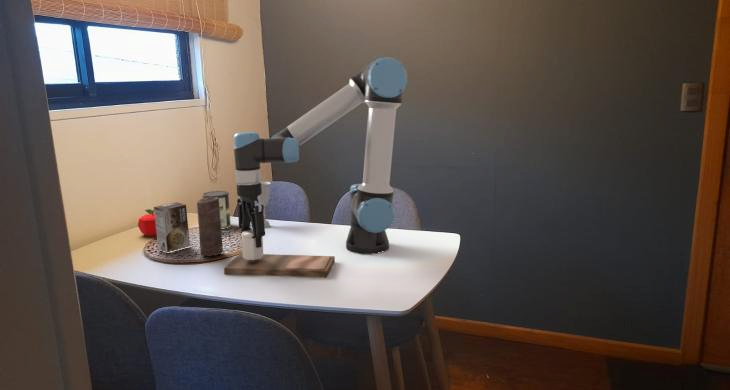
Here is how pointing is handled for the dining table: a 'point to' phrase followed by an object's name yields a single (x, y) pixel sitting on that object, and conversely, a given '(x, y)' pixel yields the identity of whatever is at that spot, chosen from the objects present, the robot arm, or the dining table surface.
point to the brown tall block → (209, 226)
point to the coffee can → (221, 206)
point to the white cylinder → (249, 245)
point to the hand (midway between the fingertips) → (253, 254)
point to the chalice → (265, 199)
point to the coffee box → (172, 226)
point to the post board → (282, 266)
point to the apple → (148, 224)
